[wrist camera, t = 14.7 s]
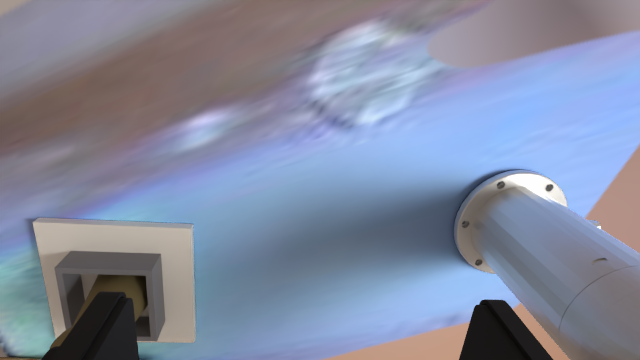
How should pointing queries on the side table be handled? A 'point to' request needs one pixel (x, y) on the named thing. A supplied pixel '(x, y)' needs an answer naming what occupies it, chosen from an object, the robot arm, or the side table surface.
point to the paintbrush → (8, 359)
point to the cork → (114, 283)
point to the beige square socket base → (121, 270)
